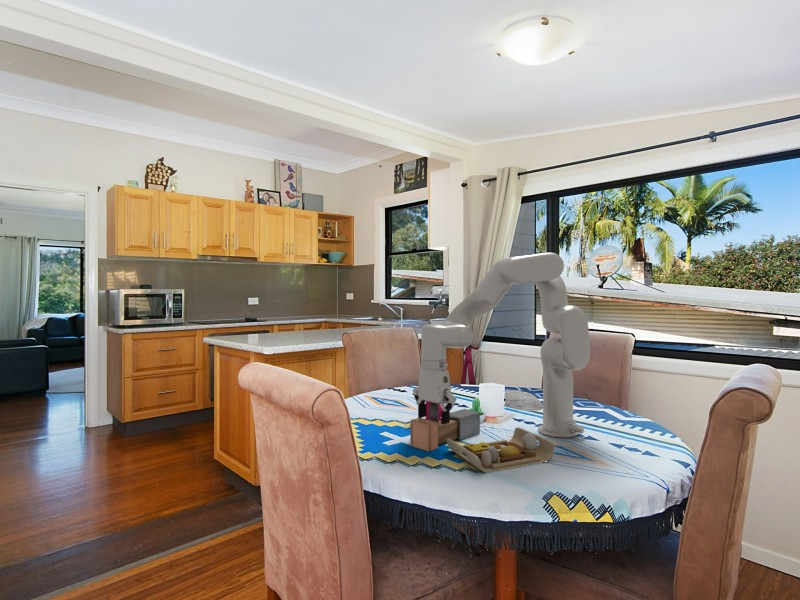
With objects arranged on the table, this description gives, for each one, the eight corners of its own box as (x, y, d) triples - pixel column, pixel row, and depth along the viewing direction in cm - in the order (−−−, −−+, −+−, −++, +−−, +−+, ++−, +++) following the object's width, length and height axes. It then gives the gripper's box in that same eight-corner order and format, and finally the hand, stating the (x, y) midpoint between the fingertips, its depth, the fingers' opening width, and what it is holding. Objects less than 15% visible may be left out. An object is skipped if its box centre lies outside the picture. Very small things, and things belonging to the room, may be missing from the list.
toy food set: (517, 442, 148) (517, 418, 148) (556, 462, 131) (556, 435, 131) (444, 453, 138) (444, 427, 138) (477, 476, 121) (477, 446, 121)
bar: (463, 436, 152) (463, 399, 152) (428, 448, 141) (428, 407, 141) (453, 433, 155) (453, 397, 155) (418, 444, 144) (418, 405, 144)
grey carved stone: (531, 412, 181) (532, 394, 182) (482, 403, 201) (482, 387, 201) (555, 410, 191) (555, 393, 192) (505, 402, 210) (506, 387, 211)
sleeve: (479, 433, 156) (479, 412, 156) (460, 440, 149) (460, 418, 149) (464, 429, 161) (464, 408, 160) (445, 435, 154) (445, 414, 154)
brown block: (437, 448, 141) (437, 422, 141) (428, 451, 138) (428, 425, 138) (419, 442, 147) (419, 417, 147) (410, 445, 144) (410, 419, 144)
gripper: (463, 366, 141) (463, 423, 142) (422, 360, 154) (422, 412, 154) (446, 369, 136) (446, 428, 136) (405, 362, 149) (405, 417, 149)
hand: (433, 420), depth 145 cm, fingers open, 9 cm apart
